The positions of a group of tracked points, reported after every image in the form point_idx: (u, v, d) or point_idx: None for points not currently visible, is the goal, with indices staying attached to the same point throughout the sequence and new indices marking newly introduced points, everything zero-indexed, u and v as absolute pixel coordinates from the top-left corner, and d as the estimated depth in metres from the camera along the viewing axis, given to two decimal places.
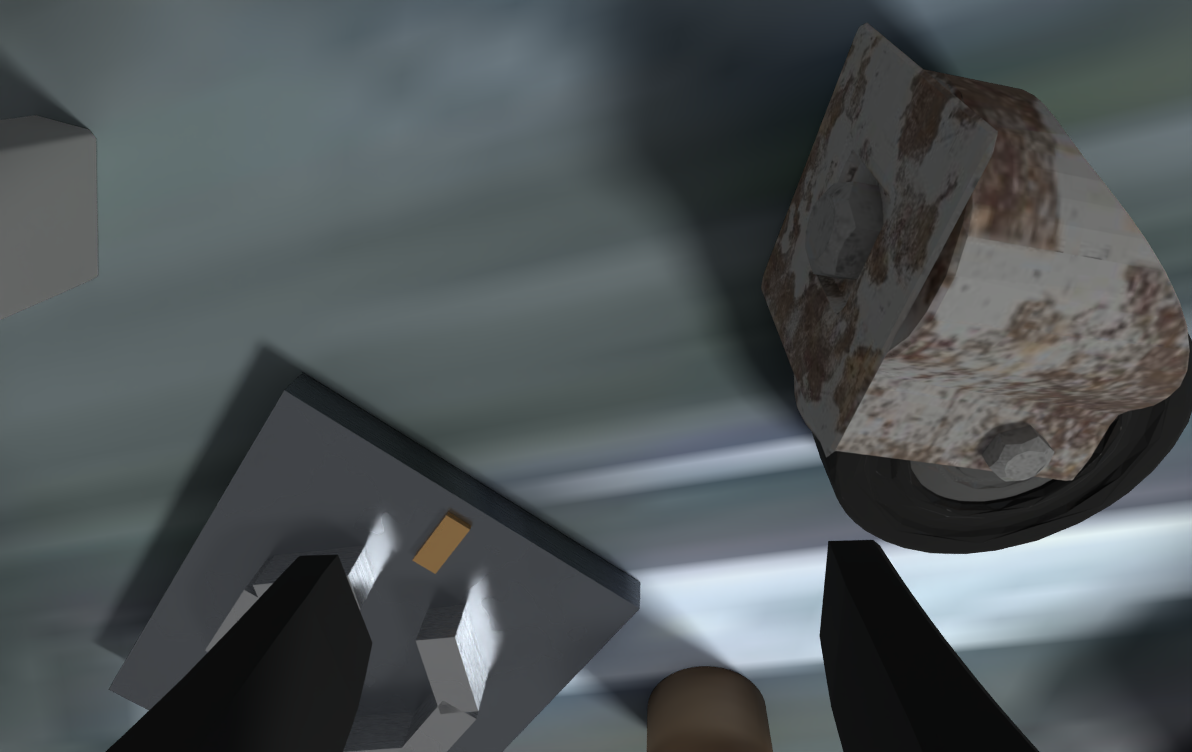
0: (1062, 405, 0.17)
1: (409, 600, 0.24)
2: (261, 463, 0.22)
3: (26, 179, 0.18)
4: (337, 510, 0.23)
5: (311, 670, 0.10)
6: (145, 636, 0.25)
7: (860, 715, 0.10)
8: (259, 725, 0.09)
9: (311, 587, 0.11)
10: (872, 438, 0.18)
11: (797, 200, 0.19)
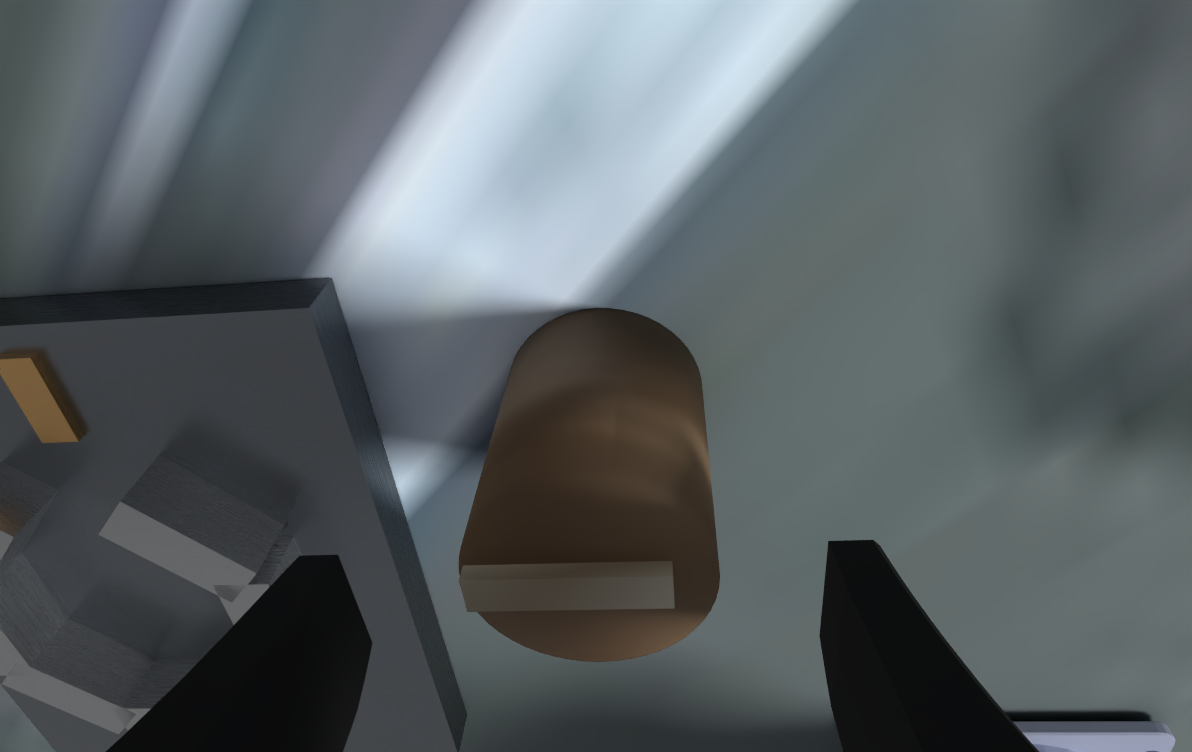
0: None
1: (112, 492, 0.17)
2: None
3: None
4: None
5: (311, 670, 0.10)
6: (9, 688, 0.21)
7: (860, 715, 0.10)
8: (259, 725, 0.09)
9: (311, 587, 0.11)
10: None
11: None
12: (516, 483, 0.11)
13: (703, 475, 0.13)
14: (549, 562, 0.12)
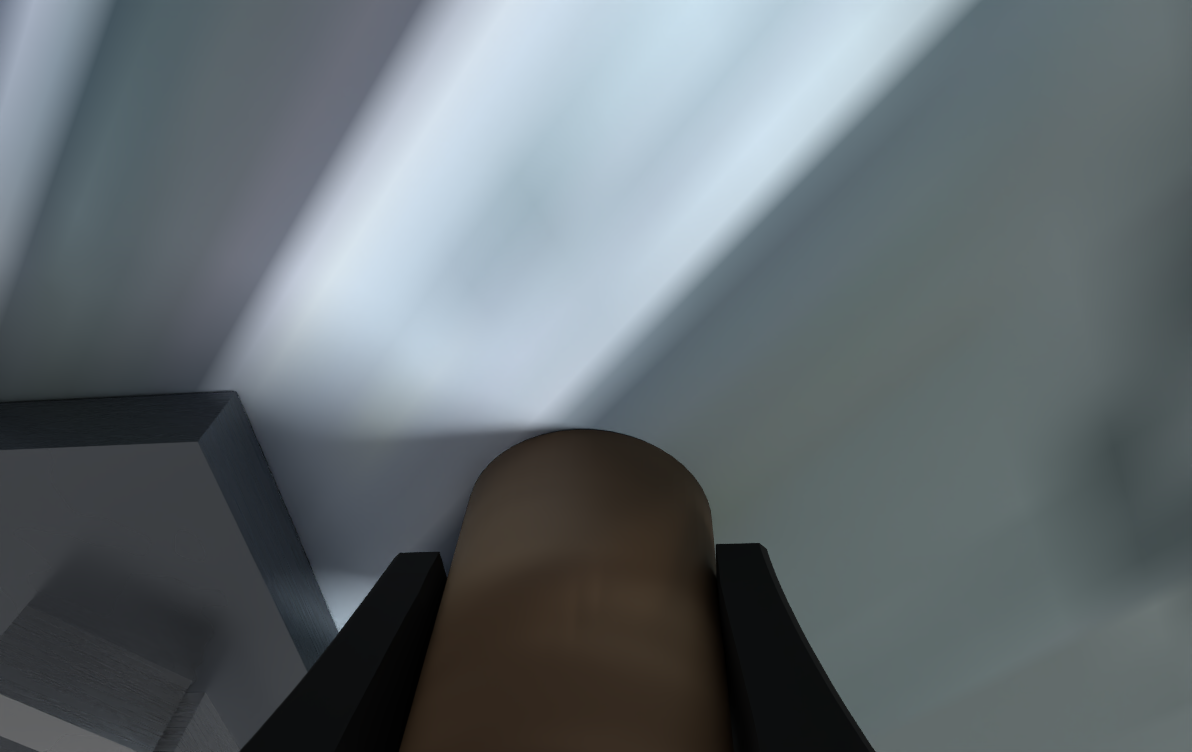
0: None
1: None
2: None
3: None
4: None
5: (421, 669, 0.10)
6: None
7: (735, 716, 0.10)
8: (381, 724, 0.09)
9: (419, 585, 0.11)
10: None
11: None
12: (455, 736, 0.08)
13: (718, 690, 0.09)
14: None
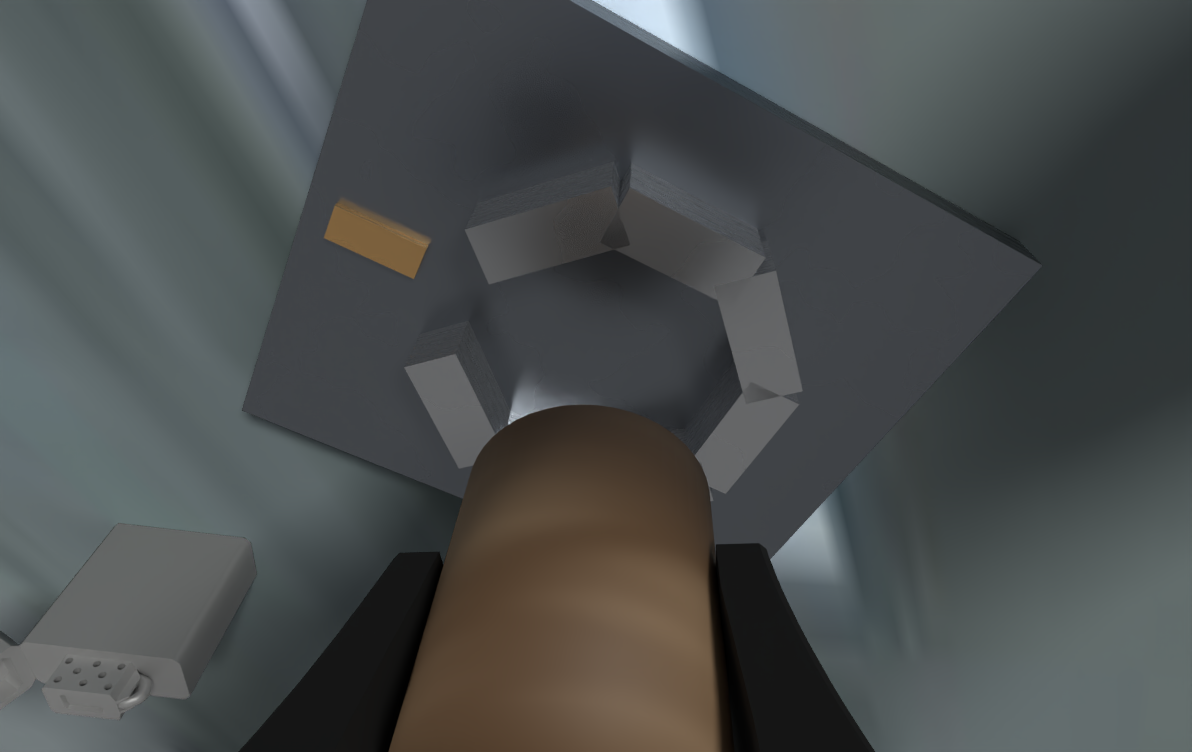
0: None
1: None
2: (345, 436, 0.20)
3: (90, 589, 0.21)
4: (378, 363, 0.18)
5: None
6: None
7: (734, 716, 0.10)
8: (381, 725, 0.09)
9: (419, 585, 0.11)
10: None
11: None
12: (461, 692, 0.08)
13: (718, 657, 0.09)
14: None
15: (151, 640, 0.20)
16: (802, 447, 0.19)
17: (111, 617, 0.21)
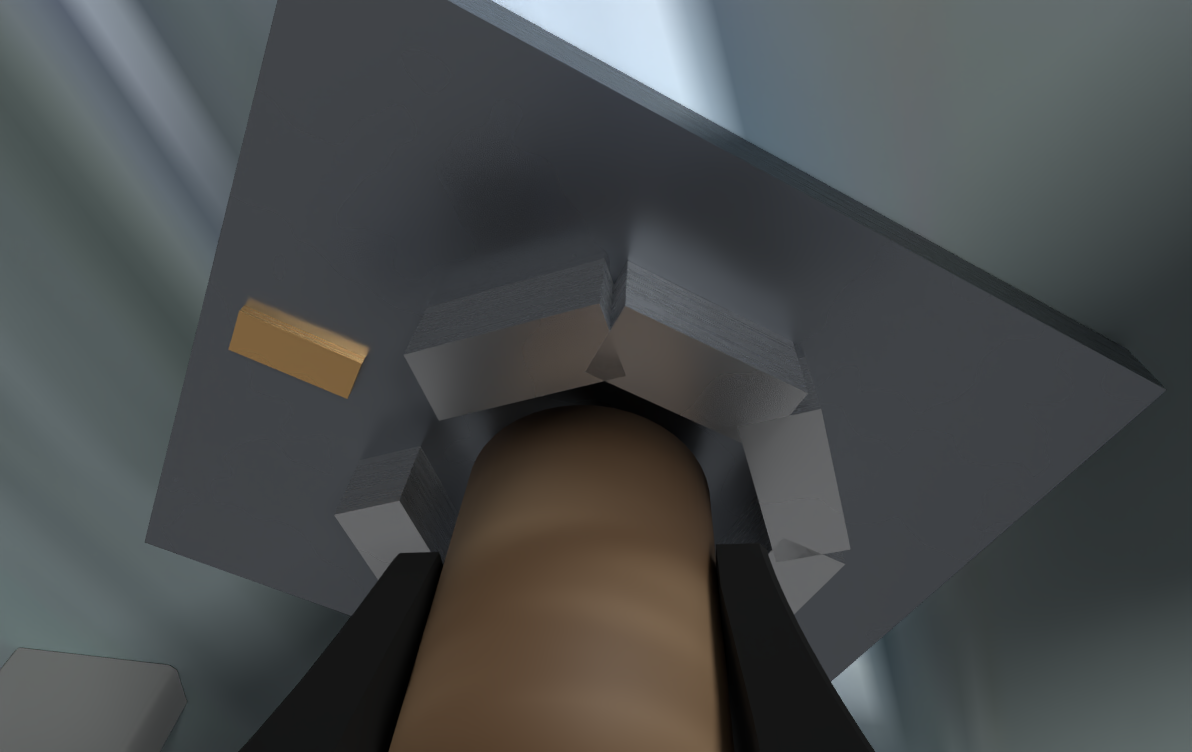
0: None
1: None
2: (274, 572, 0.16)
3: None
4: (310, 493, 0.14)
5: None
6: None
7: (734, 716, 0.10)
8: (381, 725, 0.09)
9: (419, 585, 0.11)
10: None
11: None
12: (460, 693, 0.08)
13: (718, 658, 0.09)
14: None
15: None
16: (842, 592, 0.15)
17: None
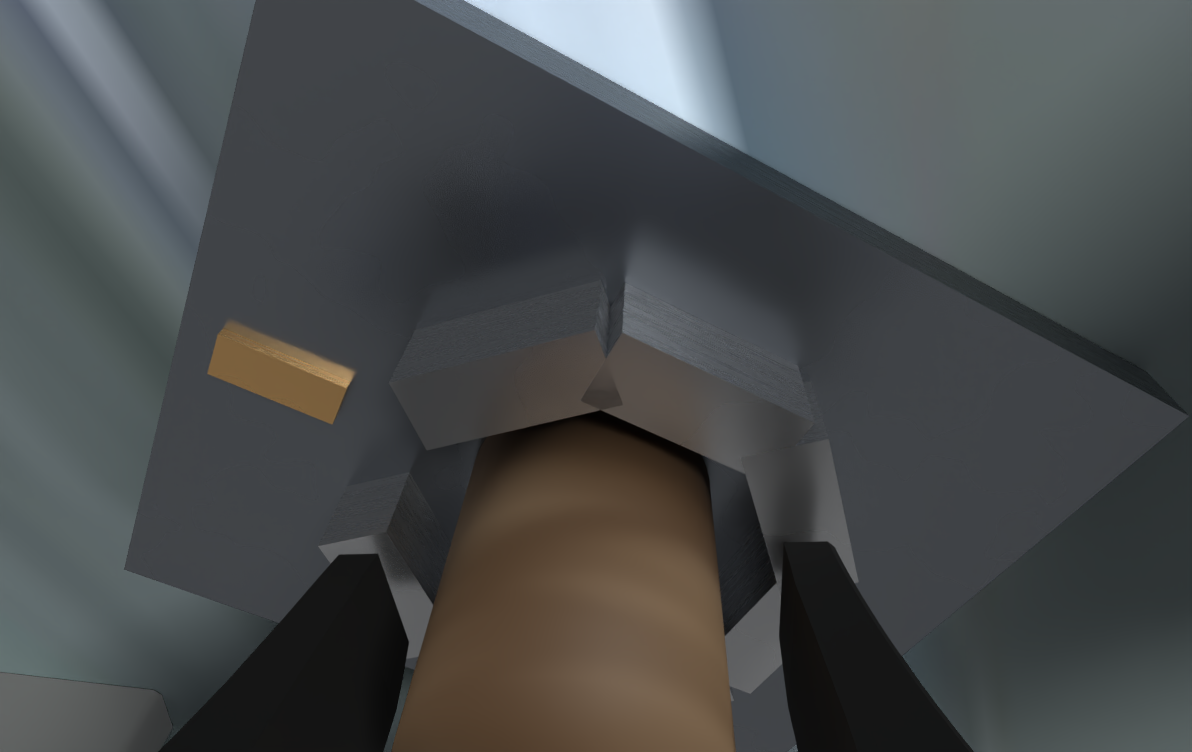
0: None
1: None
2: (259, 600, 0.15)
3: None
4: (295, 519, 0.14)
5: (354, 670, 0.10)
6: None
7: (810, 715, 0.10)
8: (307, 725, 0.09)
9: (354, 586, 0.11)
10: None
11: None
12: (468, 671, 0.08)
13: (717, 639, 0.10)
14: None
15: None
16: None
17: None
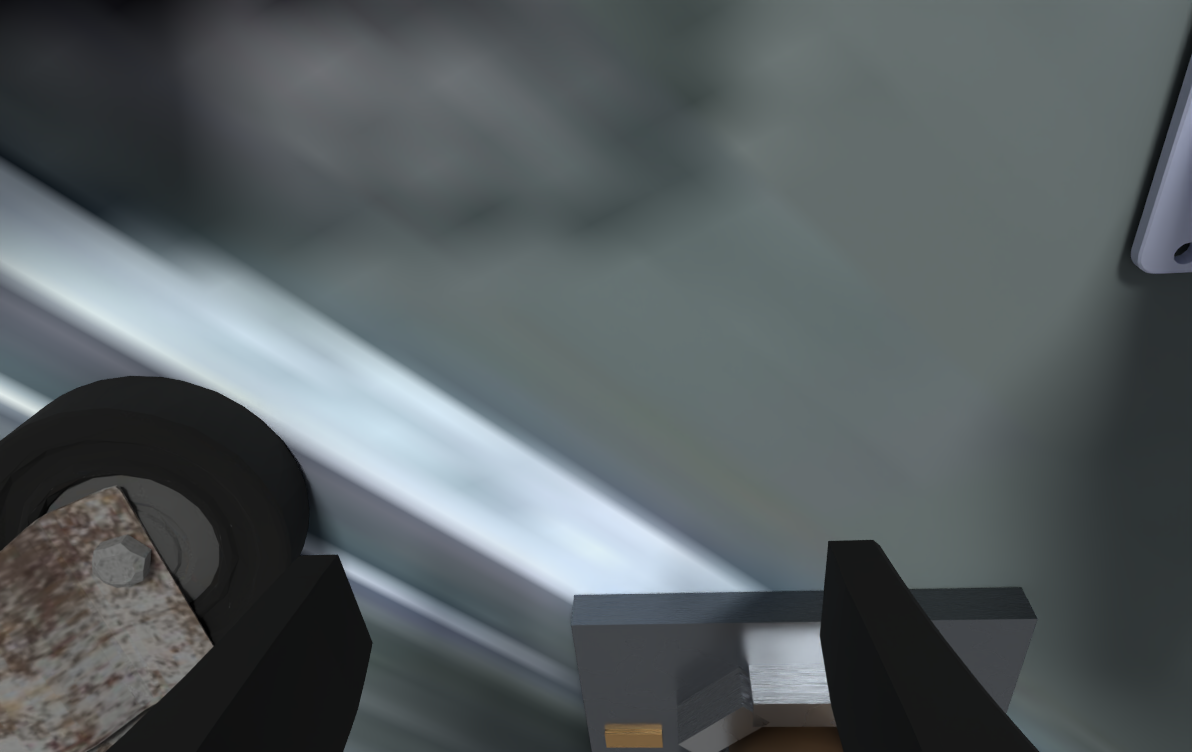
0: (64, 567, 0.20)
1: None
2: None
3: None
4: None
5: (311, 670, 0.10)
6: None
7: (860, 715, 0.10)
8: (259, 725, 0.09)
9: (311, 587, 0.11)
10: (194, 649, 0.22)
11: None
12: None
13: None
14: None
15: None
16: None
17: None
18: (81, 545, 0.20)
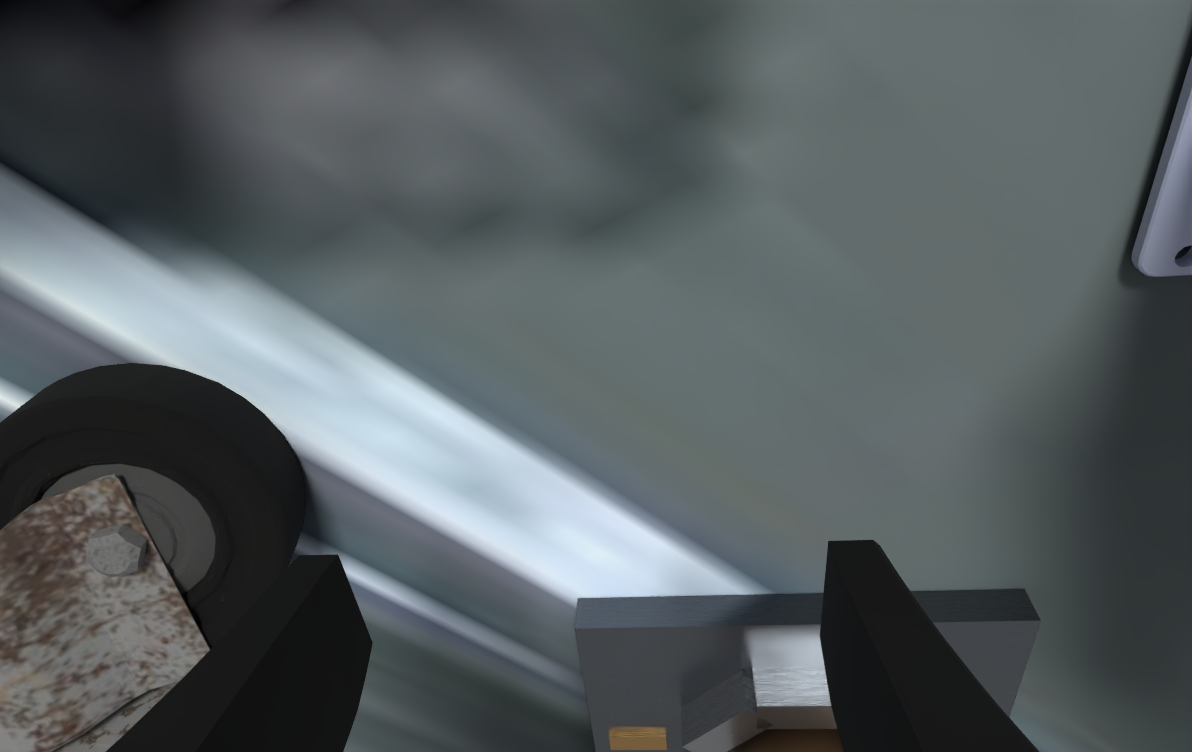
0: (56, 555, 0.20)
1: None
2: None
3: None
4: None
5: (311, 670, 0.10)
6: None
7: (860, 715, 0.10)
8: (259, 725, 0.09)
9: (311, 587, 0.11)
10: (184, 640, 0.22)
11: None
12: None
13: None
14: None
15: None
16: None
17: None
18: (75, 533, 0.20)
